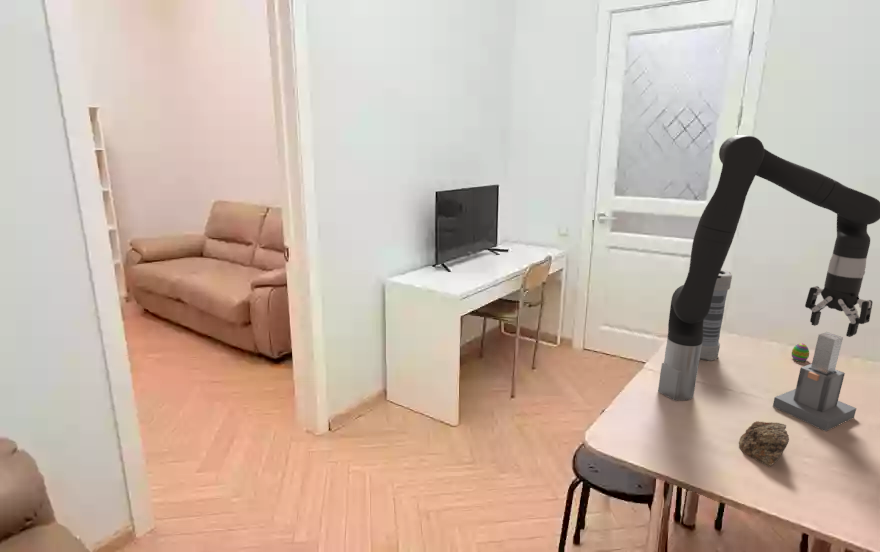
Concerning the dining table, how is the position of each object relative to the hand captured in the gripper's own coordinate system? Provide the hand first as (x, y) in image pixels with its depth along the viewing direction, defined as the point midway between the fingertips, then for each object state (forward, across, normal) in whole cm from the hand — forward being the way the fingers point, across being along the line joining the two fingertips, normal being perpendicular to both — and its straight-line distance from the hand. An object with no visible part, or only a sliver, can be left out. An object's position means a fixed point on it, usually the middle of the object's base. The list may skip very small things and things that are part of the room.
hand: (831, 330), depth 142 cm
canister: (+25, -39, +5) cm, 47 cm away
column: (+22, 0, 0) cm, 22 cm away
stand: (+25, 0, 0) cm, 25 cm away
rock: (+25, +4, -30) cm, 39 cm away
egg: (+25, -21, +31) cm, 45 cm away
